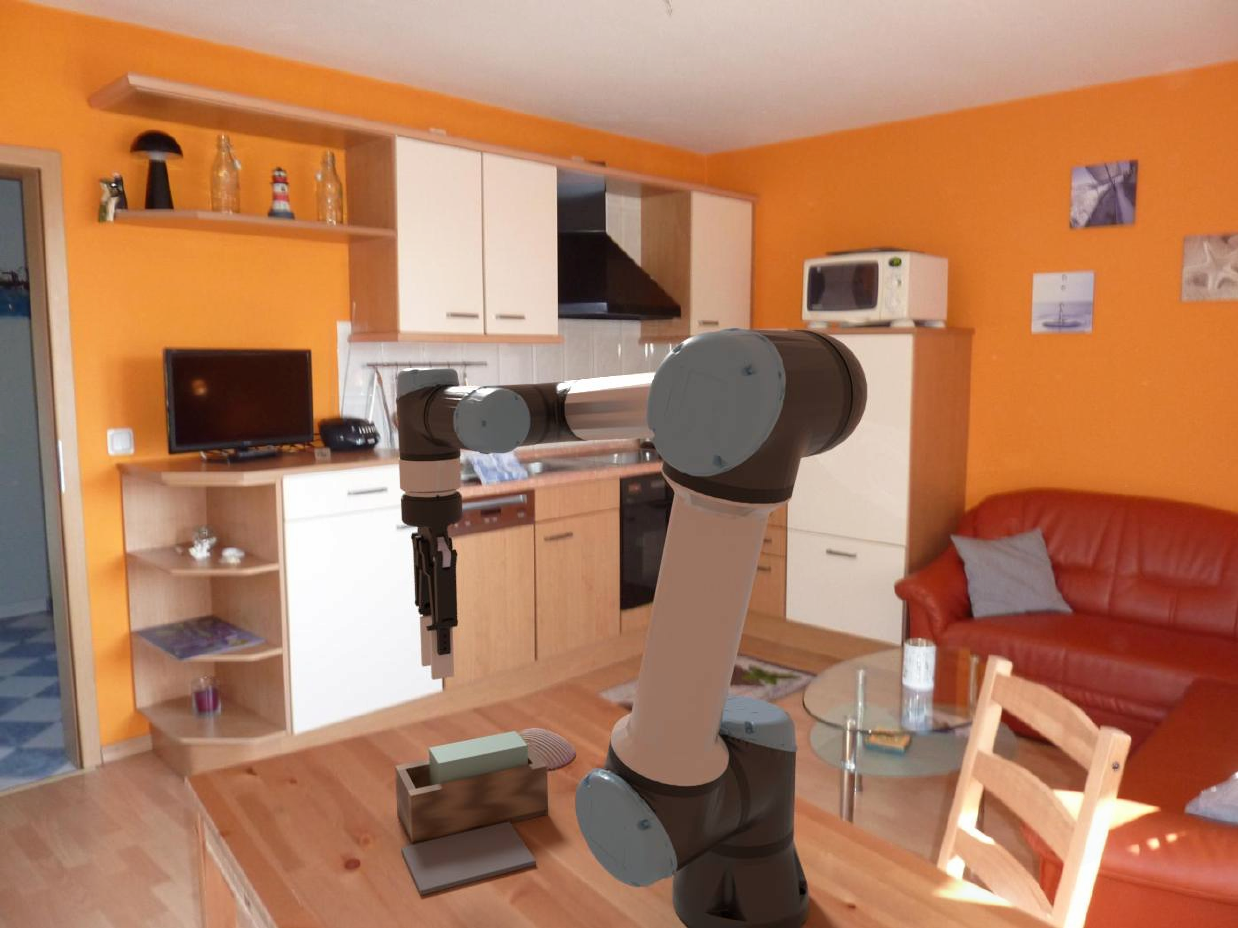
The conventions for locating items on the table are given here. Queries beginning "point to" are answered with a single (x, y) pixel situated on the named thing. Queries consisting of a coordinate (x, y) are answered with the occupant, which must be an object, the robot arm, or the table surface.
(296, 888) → the table surface
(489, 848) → the mat
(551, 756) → the seashell
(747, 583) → the robot arm
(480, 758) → the part
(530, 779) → the frame
